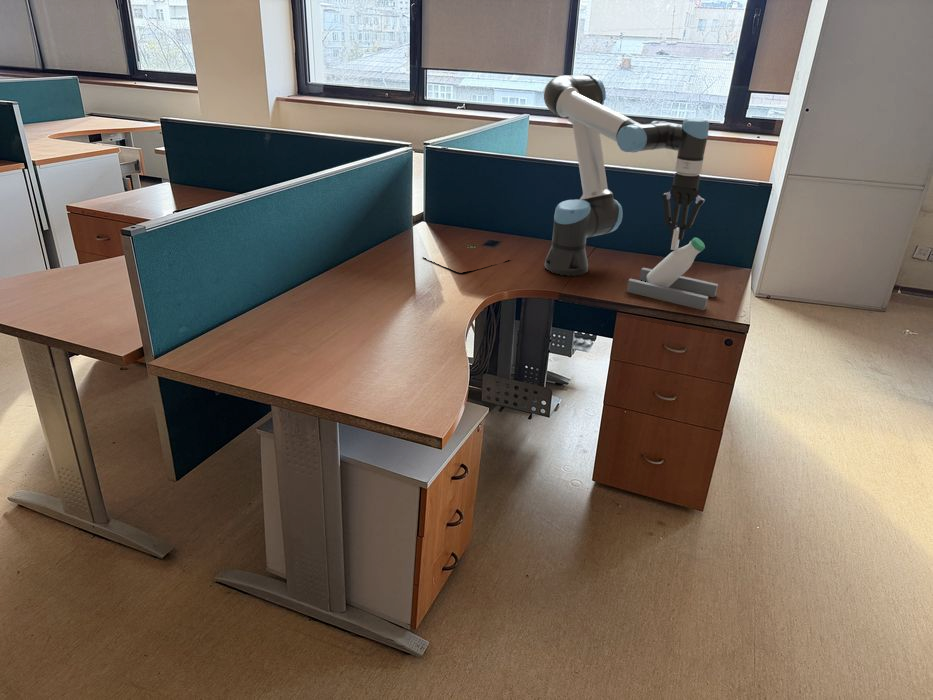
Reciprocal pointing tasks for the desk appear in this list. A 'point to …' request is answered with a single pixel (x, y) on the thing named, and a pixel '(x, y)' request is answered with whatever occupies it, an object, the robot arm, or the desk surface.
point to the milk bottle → (675, 264)
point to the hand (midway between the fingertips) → (674, 248)
